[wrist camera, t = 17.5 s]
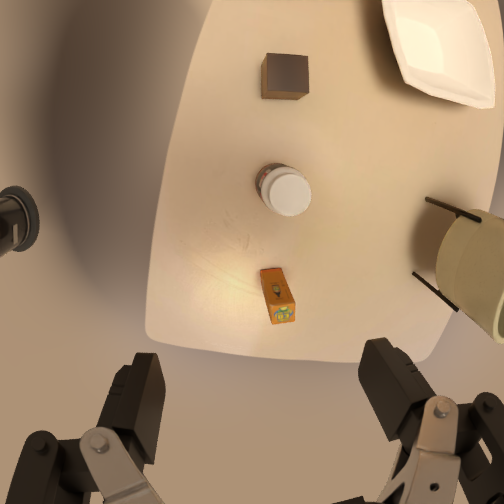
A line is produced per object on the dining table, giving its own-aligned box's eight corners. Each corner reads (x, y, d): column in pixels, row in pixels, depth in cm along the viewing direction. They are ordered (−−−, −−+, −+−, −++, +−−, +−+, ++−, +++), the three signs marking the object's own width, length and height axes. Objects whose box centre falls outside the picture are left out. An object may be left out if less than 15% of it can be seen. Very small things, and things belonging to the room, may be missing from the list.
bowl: (468, 115, 37) (500, 116, 29) (367, 96, 36) (396, 88, 28) (451, 14, 29) (478, 4, 21) (348, -20, 28) (368, -42, 20)
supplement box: (261, 289, 45) (270, 326, 36) (260, 269, 44) (268, 303, 35) (282, 287, 45) (295, 322, 36) (281, 267, 44) (295, 299, 35)
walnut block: (261, 98, 35) (267, 90, 30) (261, 65, 34) (266, 52, 28) (297, 100, 36) (309, 93, 30) (296, 67, 34) (308, 55, 28)
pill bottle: (248, 192, 40) (254, 207, 31) (266, 156, 38) (278, 159, 29) (284, 209, 41) (301, 229, 32) (302, 174, 40) (325, 183, 30)
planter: (456, 273, 48) (531, 331, 27) (397, 278, 47) (477, 355, 25) (470, 200, 43) (562, 239, 21) (411, 193, 42) (518, 237, 20)
